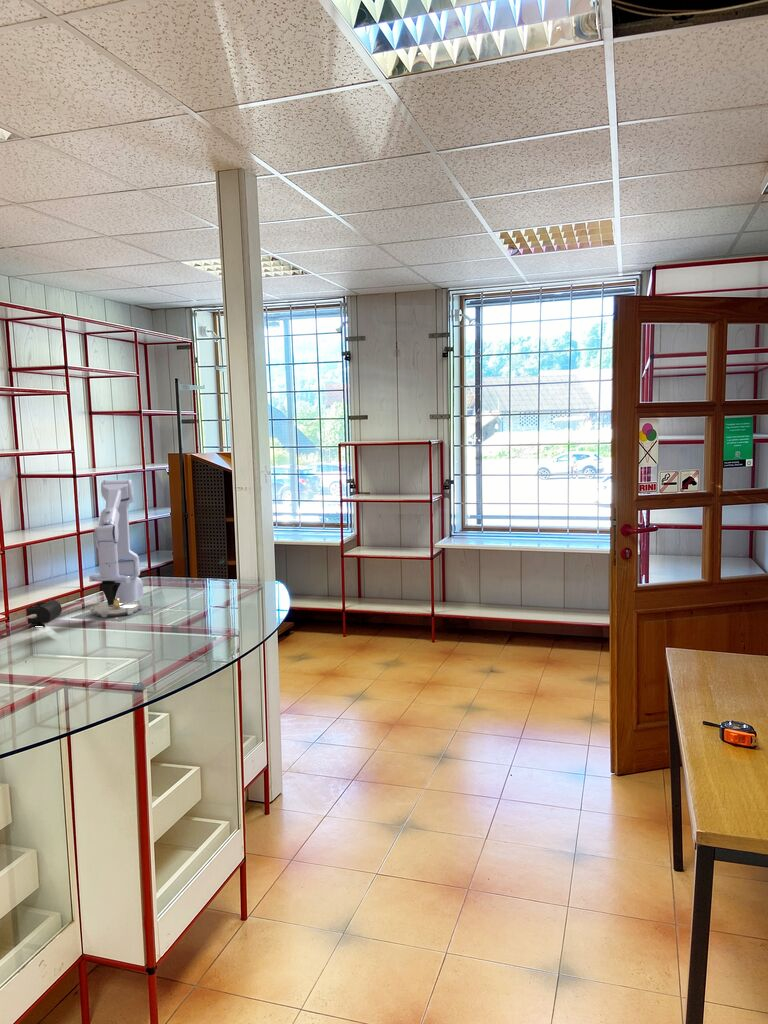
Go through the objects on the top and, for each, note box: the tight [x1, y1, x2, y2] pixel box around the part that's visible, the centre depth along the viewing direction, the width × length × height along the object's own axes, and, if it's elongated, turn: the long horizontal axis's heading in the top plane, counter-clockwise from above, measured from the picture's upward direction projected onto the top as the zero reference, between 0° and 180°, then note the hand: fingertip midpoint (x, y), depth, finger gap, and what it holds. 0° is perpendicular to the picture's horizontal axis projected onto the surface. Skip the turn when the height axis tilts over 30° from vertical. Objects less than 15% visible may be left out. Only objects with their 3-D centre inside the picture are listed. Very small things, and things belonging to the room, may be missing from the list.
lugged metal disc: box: [90, 597, 143, 617], centre depth 236 cm, size 14×16×5 cm
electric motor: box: [26, 599, 63, 628], centre depth 230 cm, size 10×7×7 cm
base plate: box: [70, 605, 161, 622], centre depth 237 cm, size 20×20×2 cm
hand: (111, 604), depth 231 cm, fingers closed
